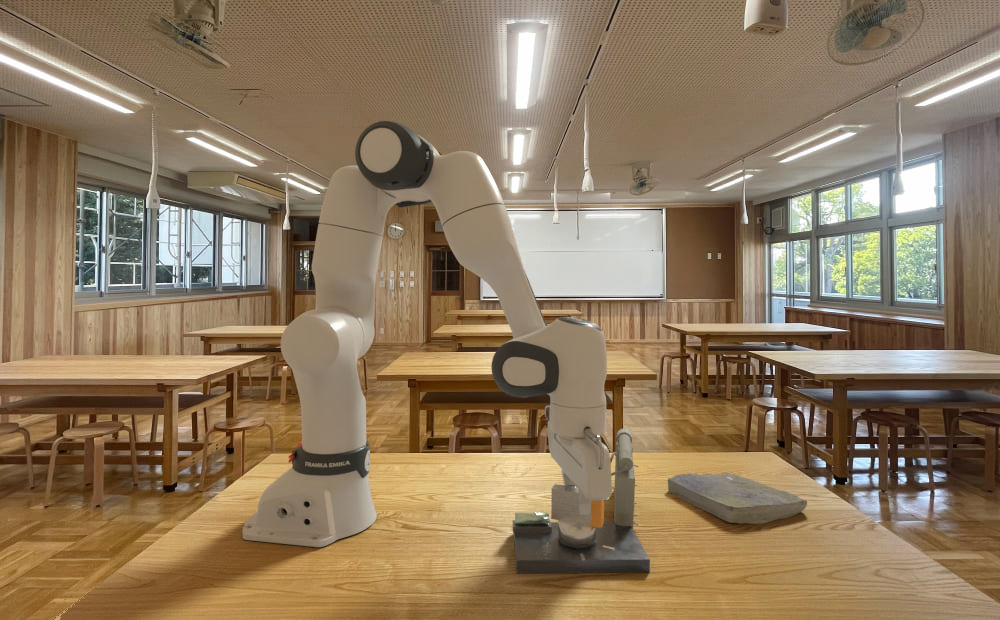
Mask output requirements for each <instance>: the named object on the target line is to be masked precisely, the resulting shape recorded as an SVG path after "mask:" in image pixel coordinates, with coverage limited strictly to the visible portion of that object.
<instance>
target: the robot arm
mask: <svg viewBox="0 0 1000 620" xmlns="http://www.w3.org/2000/svg"><path fill="white" fill-rule="evenodd" d="M354 154H355V155H354V156H355V161H356V165H355V164H354V165H353V164H352V165H345V166H343V167H340V168H337V169H336V171H334V172H333V174H332V176H331V179H330V180H329V183H328V186H327V189H326V191H325V194H324V198H323V202H322V206H321V209H320V214H319V220H318V224H317V225H318V226H317V231H316V237H315V244H314V250H313V255H312V261H311V272H312V275H313V278H314V284H315V285H314V287H315V308H314V309H310V310H307V311H305V312H303V313H301V314H300V315H298V316H297V317H296V318H294V319H293V320H292V321H291V322H290V323H289V324H288V325H287V326H286V327H285V329H284V331H283V333H282V334H281V338H280V351H281V355H282V357H283V359H284V360H285V362H286V364H287V365H288V366H289V367H290V368H291V371H292V373H293V378H294V381H295V386H296V388H297V392H298V397H299V403H300V413H301V414H300V415H301V441H300V442H298V443H297V444H296V446H295V447H296V448H294V449H293V450H292V451H291V453H290V454H289V455H288V456H287V459H288V463H289V464H290V463H291V465H292V466H291V467H290V468H289V469H288V470H286V471H285V472H284V473H282V474H281V475H280V476H279V477H277V478H276V479H275V480H274V481H273V482H272V483H270V484H269V485H267V487H266V488H265V490H264V491H263V492H262V494H261V495H260V498H259V501H258V504H257V507H256V508H257V509H256V511H255V512H254V513H253V514H252V515H251V516H249V517H248V519H247V520H246V521H245V523H244V525H243V527H242V532H241V533H242V534H241V535H242V539H243V540H246V541H253V542H254V541H255V542H264V543H274V544H281V545H282V544H283V545H284V544H285V545H294V546H302V547H303V546H304V547H311V548H312V547H314V548H322V547H325V546H329V545H330V544H332V543H334V542H336V541H338V540H339V539H343V538H346V537H350V536H353V535H356V534H359V533H360V532H362V531H364V530H366V529H368V528H369V527H370V526H371V525H373V524H374V523H375V521H376V520H377V517H378V516H377V511H376V508H375V505H374V501H373V498H372V497H373V496H372V491H371V485H370V479H369V473H370V468H371V451H370V442H369V440H368V439H367V400H366V396H365V395H364V393H363V390H362V387H361V382H360V378H359V372H358V360H359V359H361V358H362V357H363V356H365V355H366V354H367V353H368V352H369V350H370V348H371V347H372V344H373V341H374V339H375V334H376V333H375V332H376V330H375V316H376V315H375V314H376V312H375V311H376V282H377V281H376V280H377V273H378V269H379V268H378V267H379V262H380V258H381V257H380V254H381V250H382V245H383V238H384V231H385V227H386V226H385V225H386V221H387V220H386V219H387V216H388V213H389V211H390V209H391V208H392V207H393V206H394V205H396V207H399V208H406V207H407V208H408V207H411V206H420V205H426V204H431V203H432V204H433V206H434V207H435V210H436V212H437V215H438V219H439V221H440V224H441V227H442V230H443V233H444V237H445V239H446V241H447V243H448V246H449V248H450V250H451V251H452V254H453V255H454V257H455V258H456V260H457V261H458V263H459V264H460V265H461V266H462V267H463V268H465V269H466V270H468V271H469V272H471V273H473V274H475V275H476V276H477V277H479V278H480V279H482V280H483V281H484V282H486V283H487V285H489V286H490V288H491V289H492V290H493V292H494V293H495V295H496V297H497V299H498V302H499V305H501V308H502V311H503V313H504V316H505V319H506V320H507V323H508V326H509V328H510V331H511V333H512V339H510V340H508V341H506V342H504V344H501V346H500V347H498V348H497V350H496V351H495V352H494V354H493V356H492V360H491V367H490V368H491V374H492V378H493V380H494V382H495V384H496V385H497V387H498V388H499V389H500V390H501V391H502V392H503V393H505V394H506V395H508V396H511V397H513V398H529V397H538V396H544V395H548V396H549V398H550V399H549V403H550V404H549V405H546V406H545V407H544V416H545V419H546V421H547V438H548V439H547V442H548V450H549V454H550V457H551V459H553V460H554V462H555V463H556V464H557V465H558V466H559V468H561V475H562V480H563V485H564V486H571V487H577V488H578V493H579V500H577V511H578V512H579V513H580V514H581V515H588V514H590V512H591V502H592V501H597V500H604V501H606V500H609V499H610V497H611V495H612V492H613V490H612V486H613V485H612V476H611V473H612V462H611V461H610V458H611V457H610V455H611V454H610V451H609V449H608V447H607V445H606V444H604V443H603V442H602V437H601V436H602V435H604V434H605V433H606V432H607V398H606V393H605V384H606V379H607V375H608V358H607V357H608V356H607V343H606V337H605V334H604V333H605V332H604V330H603V329H602V328H601V326H599V325H598V324H597V323H595V322H594V321H591V320H588V319H585V318H580V317H572V316H571V317H570V316H560V317H557V318H556V319H554V321H552V322H551V323H547V321H546V320H545V318H544V315H543V312H542V310H541V308H540V305H539V303H538V300H537V296H536V295H535V293H534V290H533V288H532V285H531V282H530V280H529V278H528V275H527V273H526V271H525V268H524V265H523V262H522V258H521V254H520V252H519V249H518V248H519V247H518V245H517V242H516V241H517V240H516V238H515V234H514V229H513V227H512V223H511V219H510V216H509V214H508V210H507V207H506V204H505V202H504V200H503V196H502V194H501V191H500V189H499V187H498V185H497V183H496V181H495V179H494V176H493V175H492V174H491V173H492V172H491V171H490V170H489V167H488V166H487V164H486V162H485V161H484V159H483V158H482V157H481V156H480V155H479V154H478V153H475V152H473V151H469V150H457V151H453V152H450V153H448V154H442V153H441V152H440V151H439V150H437V149H436V148H435V147H434V145H433V144H431V142H430V141H429V140H428V139H426V137H424V136H421V135H419V134H417V133H416V131H414V130H413V129H411V128H410V127H409V126H406V125H404V124H402V123H399V122H396V121H390V120H380V121H377V122H374V123H372V124H370V125H368V126H367V127H366V128H365V129H364V130H362V132H361V134H360V135H359V137H358V139H357V141H356V145H355V151H354Z"/></svg>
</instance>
